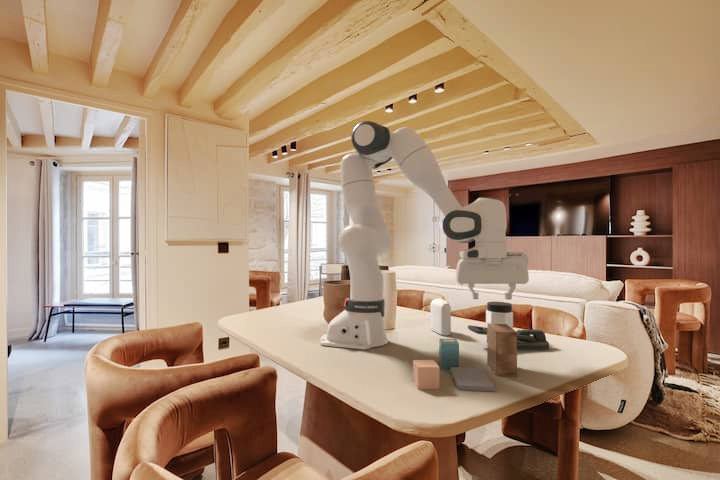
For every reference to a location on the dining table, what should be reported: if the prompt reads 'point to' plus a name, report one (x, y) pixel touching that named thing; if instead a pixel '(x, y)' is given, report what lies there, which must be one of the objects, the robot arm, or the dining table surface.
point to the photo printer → (440, 317)
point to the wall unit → (502, 349)
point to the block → (426, 374)
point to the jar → (499, 313)
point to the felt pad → (471, 379)
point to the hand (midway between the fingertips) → (491, 299)
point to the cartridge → (448, 353)
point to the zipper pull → (522, 339)
